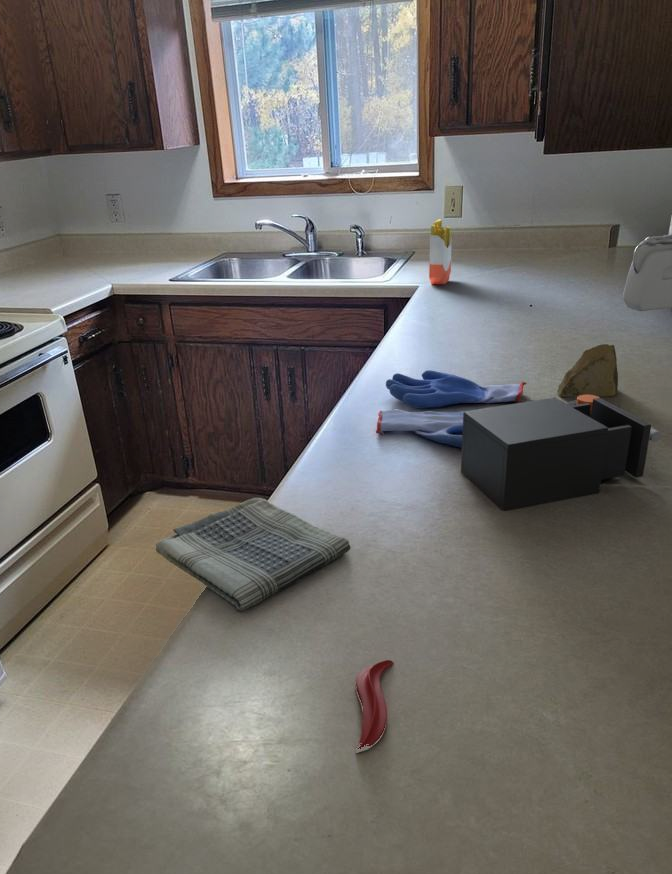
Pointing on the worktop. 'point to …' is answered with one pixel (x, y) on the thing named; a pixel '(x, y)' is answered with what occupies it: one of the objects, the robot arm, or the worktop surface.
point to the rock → (592, 374)
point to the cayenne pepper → (372, 702)
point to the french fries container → (440, 254)
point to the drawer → (621, 438)
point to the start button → (586, 399)
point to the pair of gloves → (439, 404)
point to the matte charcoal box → (532, 452)
